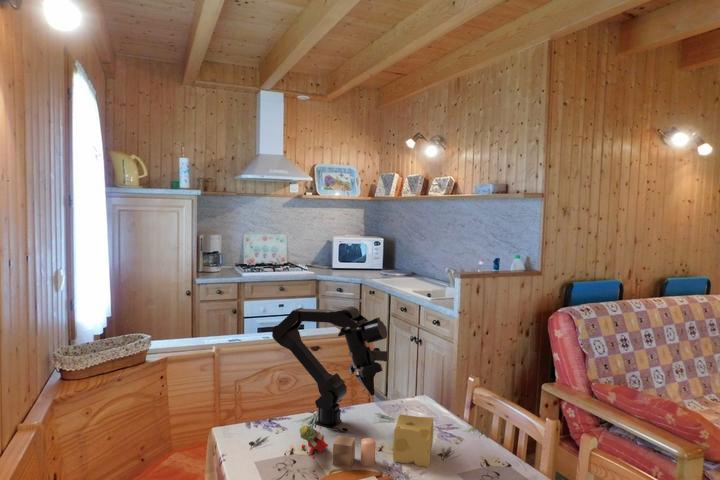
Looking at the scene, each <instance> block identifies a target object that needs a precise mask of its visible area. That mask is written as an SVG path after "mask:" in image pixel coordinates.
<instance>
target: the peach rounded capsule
mask: <svg viewBox="0 0 720 480" xmlns="http://www.w3.org/2000/svg"><path fill="white" fill-rule="evenodd" d="M376 446H377V441H376V440H375V439H374V438H371V437H370V438H369V437H366V438H363V439H361V445H360V464H361V465H363V466H364V467H372V466H374V465H376V450H377V449H376V448H377V447H376Z"/></svg>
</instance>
